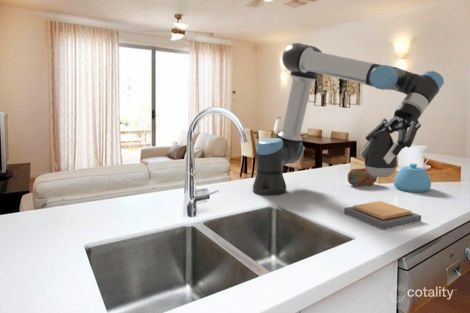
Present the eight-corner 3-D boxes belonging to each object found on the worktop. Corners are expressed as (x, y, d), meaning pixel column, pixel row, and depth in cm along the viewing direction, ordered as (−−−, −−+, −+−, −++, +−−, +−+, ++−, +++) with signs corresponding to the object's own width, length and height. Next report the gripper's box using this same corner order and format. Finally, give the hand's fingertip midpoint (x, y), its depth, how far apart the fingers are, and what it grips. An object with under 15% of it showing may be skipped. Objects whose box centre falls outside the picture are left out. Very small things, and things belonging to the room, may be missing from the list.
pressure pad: (353, 208, 114) (353, 205, 114) (380, 203, 119) (380, 200, 119) (382, 219, 103) (383, 216, 103) (411, 213, 108) (411, 211, 108)
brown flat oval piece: (350, 187, 152) (350, 169, 151) (346, 185, 155) (346, 168, 154) (377, 184, 156) (378, 167, 155) (372, 183, 159) (373, 166, 158)
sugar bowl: (397, 183, 159) (399, 160, 157) (433, 188, 149) (435, 163, 147) (389, 189, 147) (391, 164, 145) (427, 195, 138) (429, 168, 136)
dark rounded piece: (356, 174, 112) (358, 130, 109) (378, 171, 116) (380, 128, 114) (380, 180, 103) (383, 132, 100) (403, 176, 107) (406, 130, 104)
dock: (344, 213, 116) (344, 207, 115) (379, 206, 122) (379, 201, 122) (382, 229, 100) (383, 223, 100) (420, 221, 107) (421, 215, 107)
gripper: (447, 118, 102) (408, 172, 99) (388, 116, 122) (354, 161, 119) (437, 101, 99) (396, 156, 96) (379, 102, 120) (343, 148, 116)
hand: (373, 159), depth 107 cm, fingers closed on dark rounded piece, 9 cm apart
